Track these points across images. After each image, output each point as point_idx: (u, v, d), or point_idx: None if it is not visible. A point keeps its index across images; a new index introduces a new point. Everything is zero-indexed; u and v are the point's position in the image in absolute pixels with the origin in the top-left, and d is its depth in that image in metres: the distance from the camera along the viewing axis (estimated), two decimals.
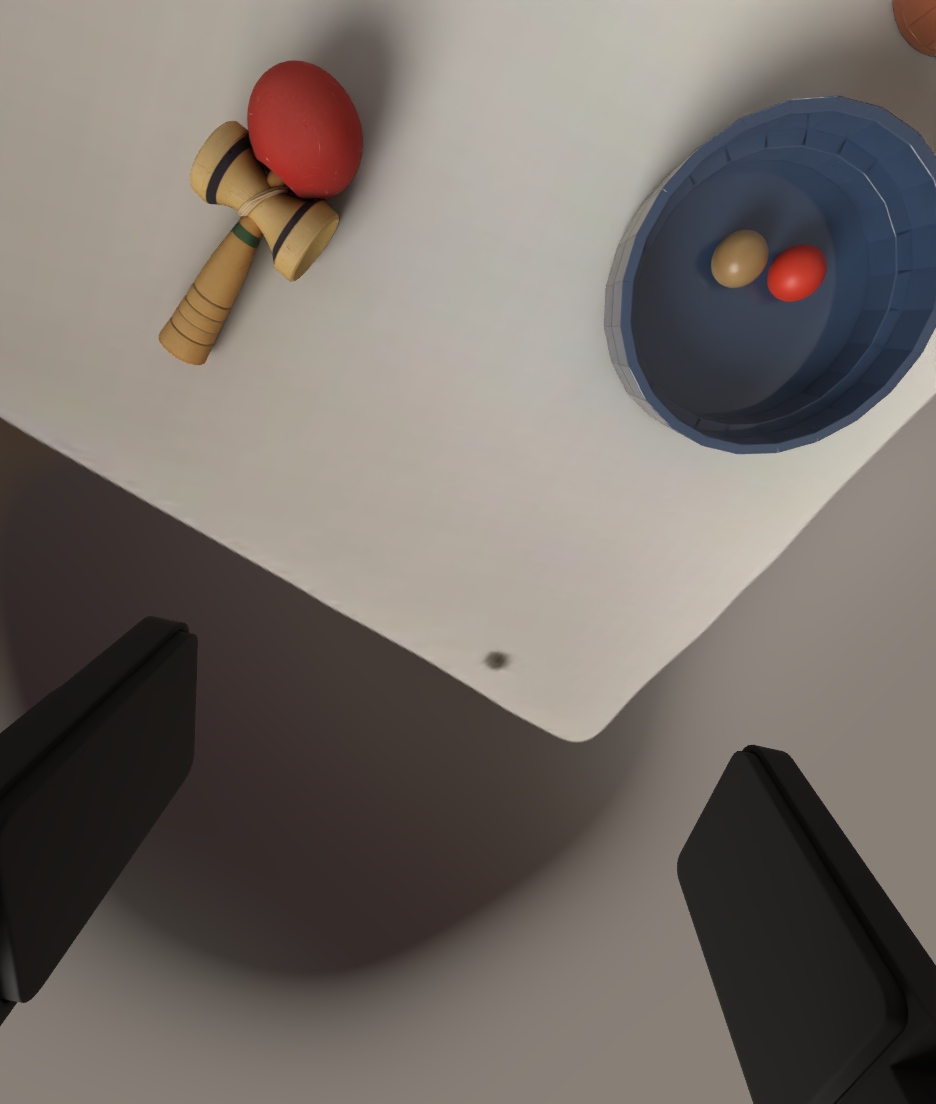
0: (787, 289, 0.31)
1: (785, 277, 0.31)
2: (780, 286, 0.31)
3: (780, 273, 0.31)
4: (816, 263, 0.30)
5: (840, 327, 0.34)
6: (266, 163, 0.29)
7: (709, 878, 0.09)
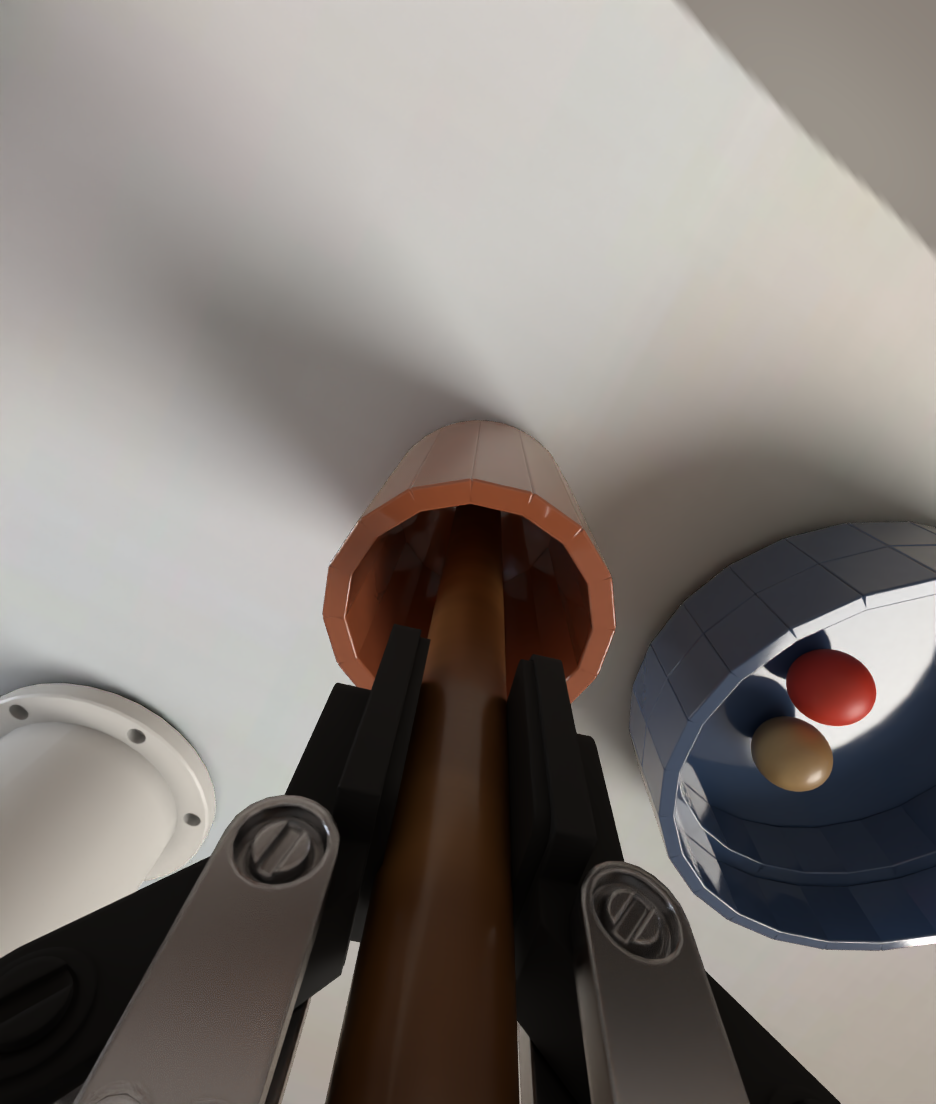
0: None
1: (844, 725, 0.21)
2: None
3: None
4: (842, 702, 0.20)
5: None
6: None
7: None
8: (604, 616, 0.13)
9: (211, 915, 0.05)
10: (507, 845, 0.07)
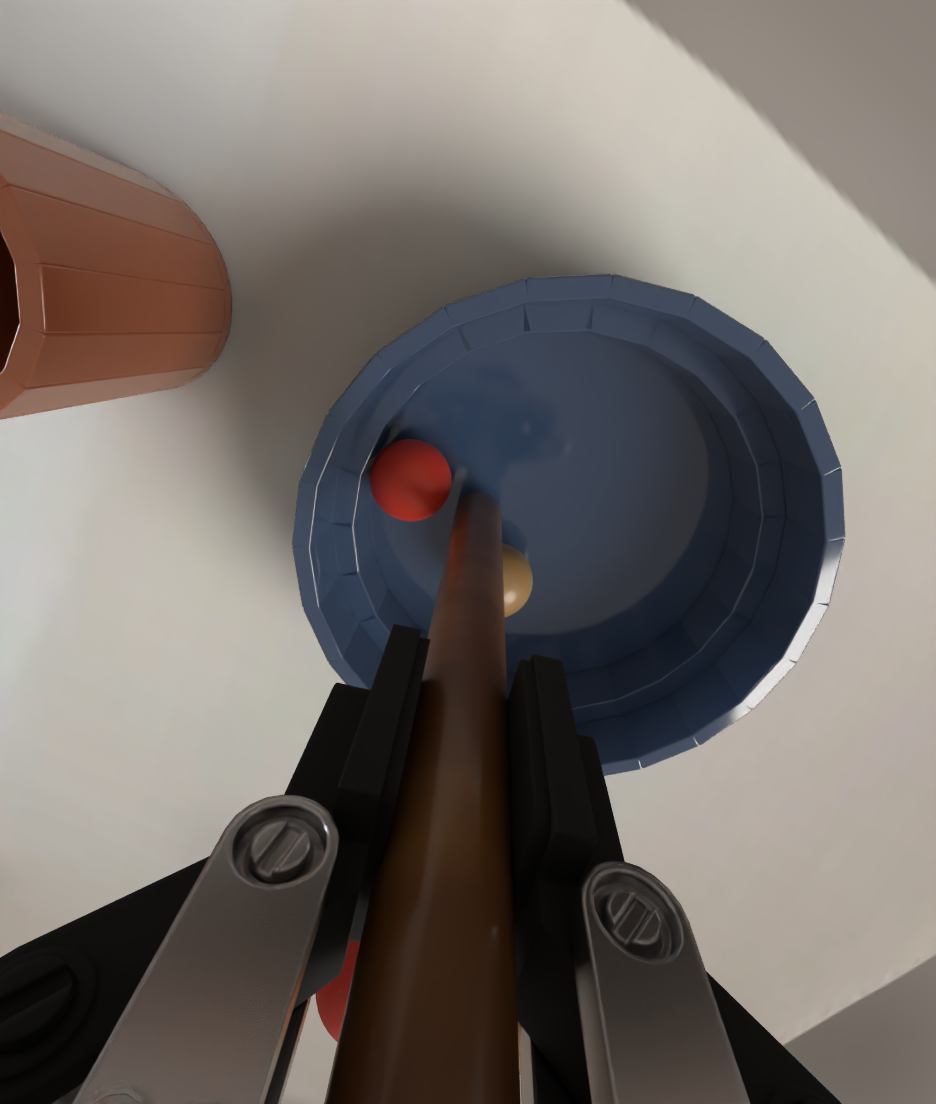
0: None
1: None
2: None
3: None
4: None
5: (601, 362, 0.19)
6: None
7: None
8: (19, 243, 0.11)
9: (210, 915, 0.05)
10: (508, 843, 0.07)
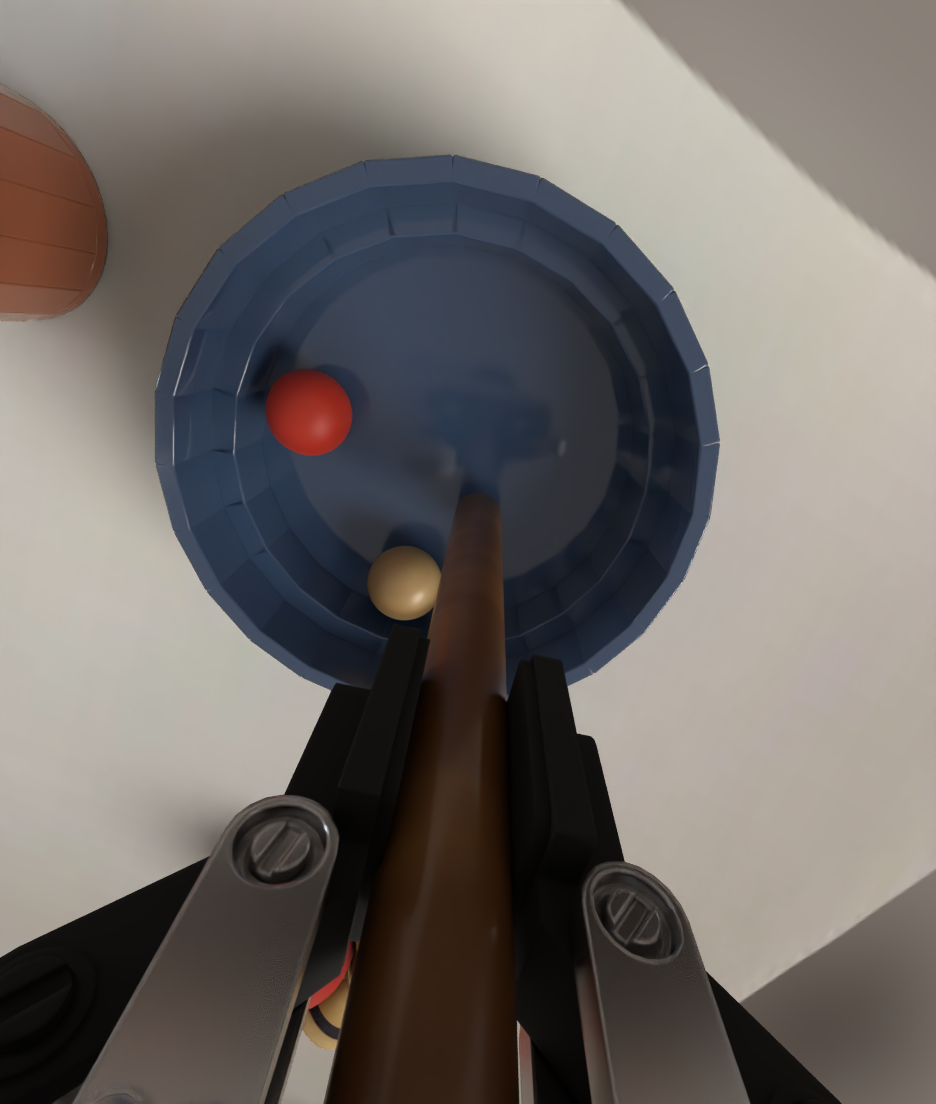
0: None
1: None
2: None
3: None
4: None
5: (486, 279, 0.19)
6: None
7: None
8: None
9: (211, 915, 0.05)
10: (507, 844, 0.07)
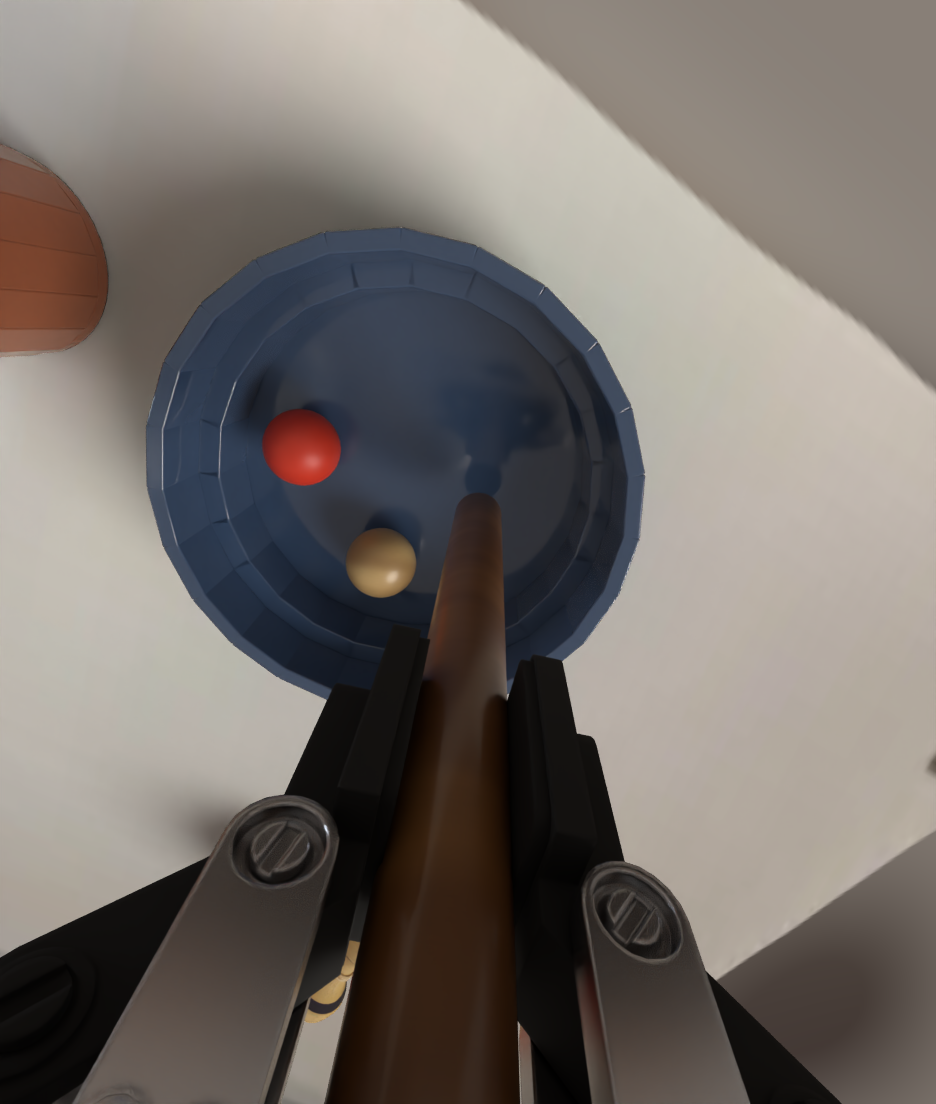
0: None
1: None
2: None
3: None
4: None
5: (447, 321, 0.21)
6: None
7: None
8: None
9: (211, 915, 0.05)
10: (508, 842, 0.07)
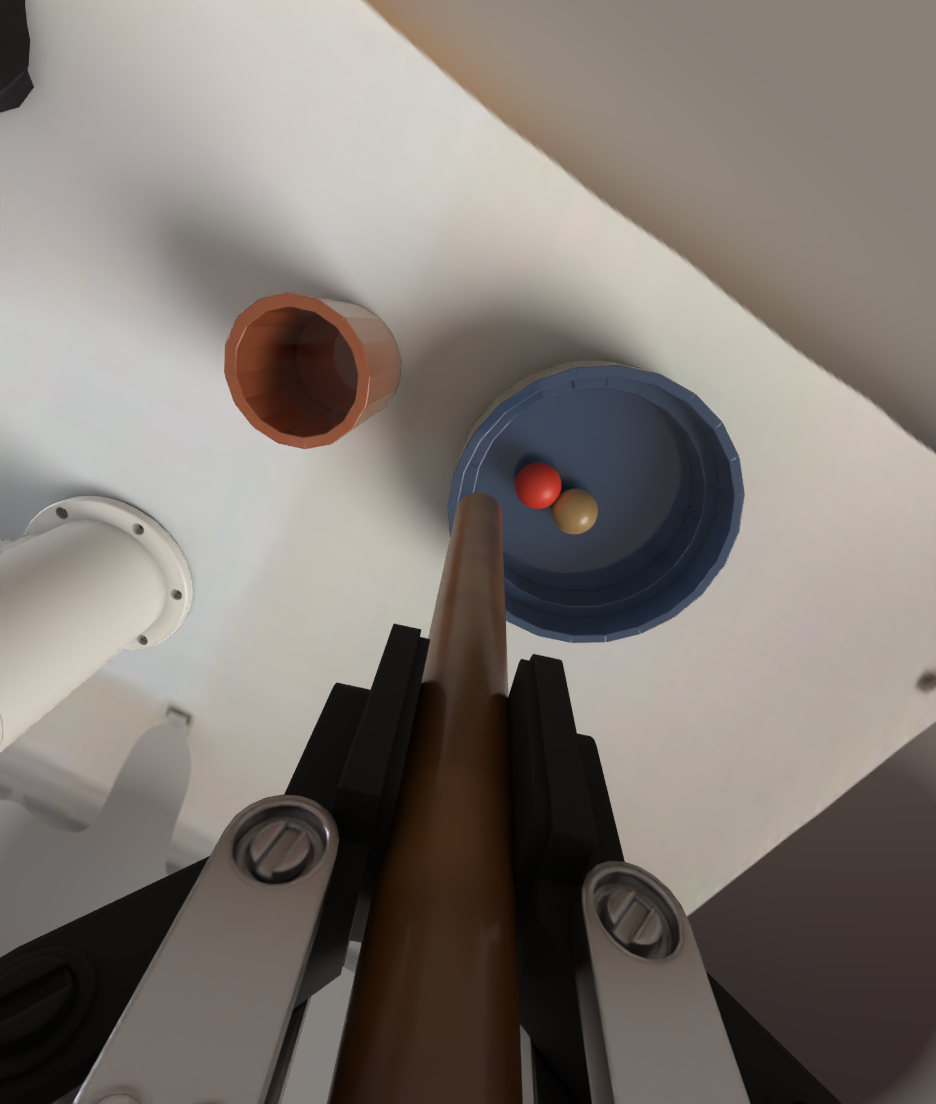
0: (525, 502, 0.35)
1: (518, 498, 0.35)
2: (525, 504, 0.35)
3: None
4: (521, 476, 0.34)
5: (613, 400, 0.34)
6: None
7: None
8: (363, 368, 0.26)
9: (210, 915, 0.05)
10: (510, 844, 0.07)
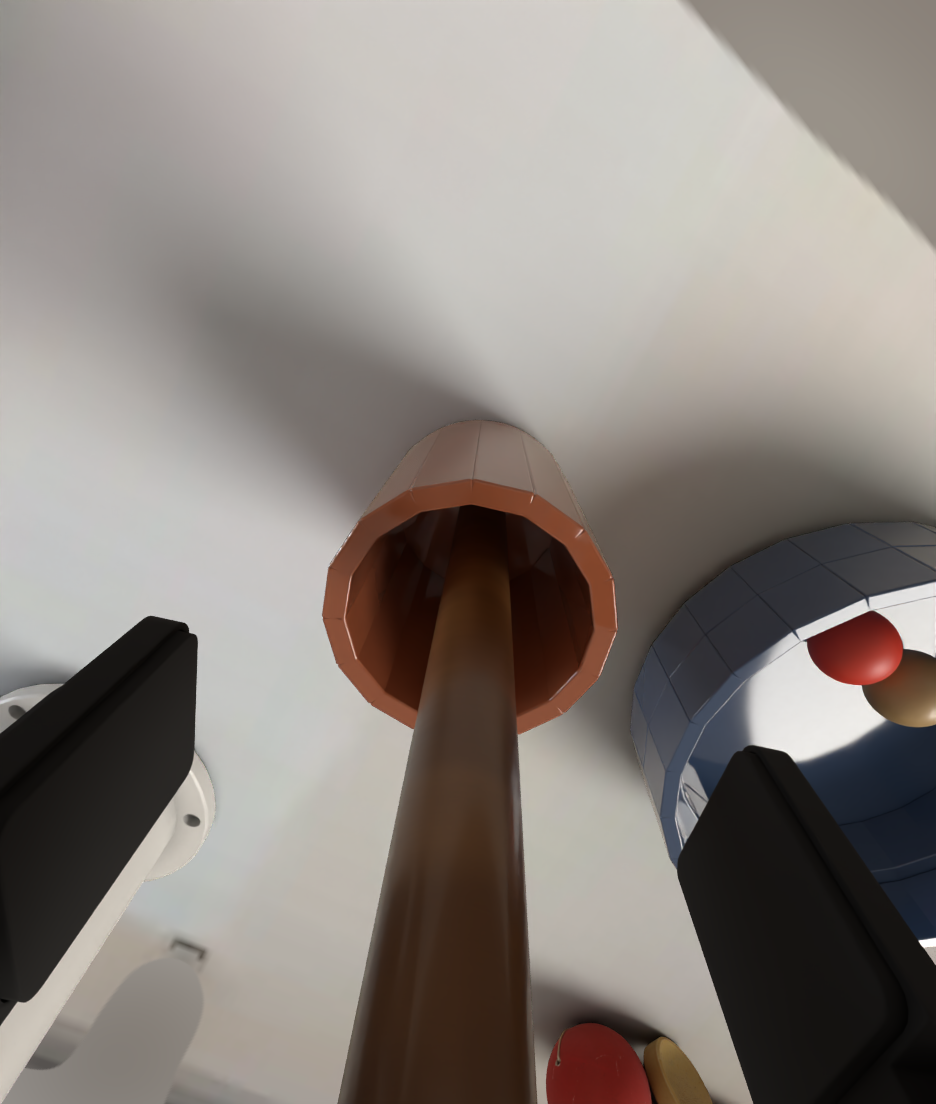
0: (882, 616, 0.20)
1: (877, 622, 0.20)
2: (889, 626, 0.20)
3: (880, 631, 0.19)
4: None
5: None
6: None
7: (709, 878, 0.09)
8: (606, 617, 0.13)
9: None
10: (520, 842, 0.07)
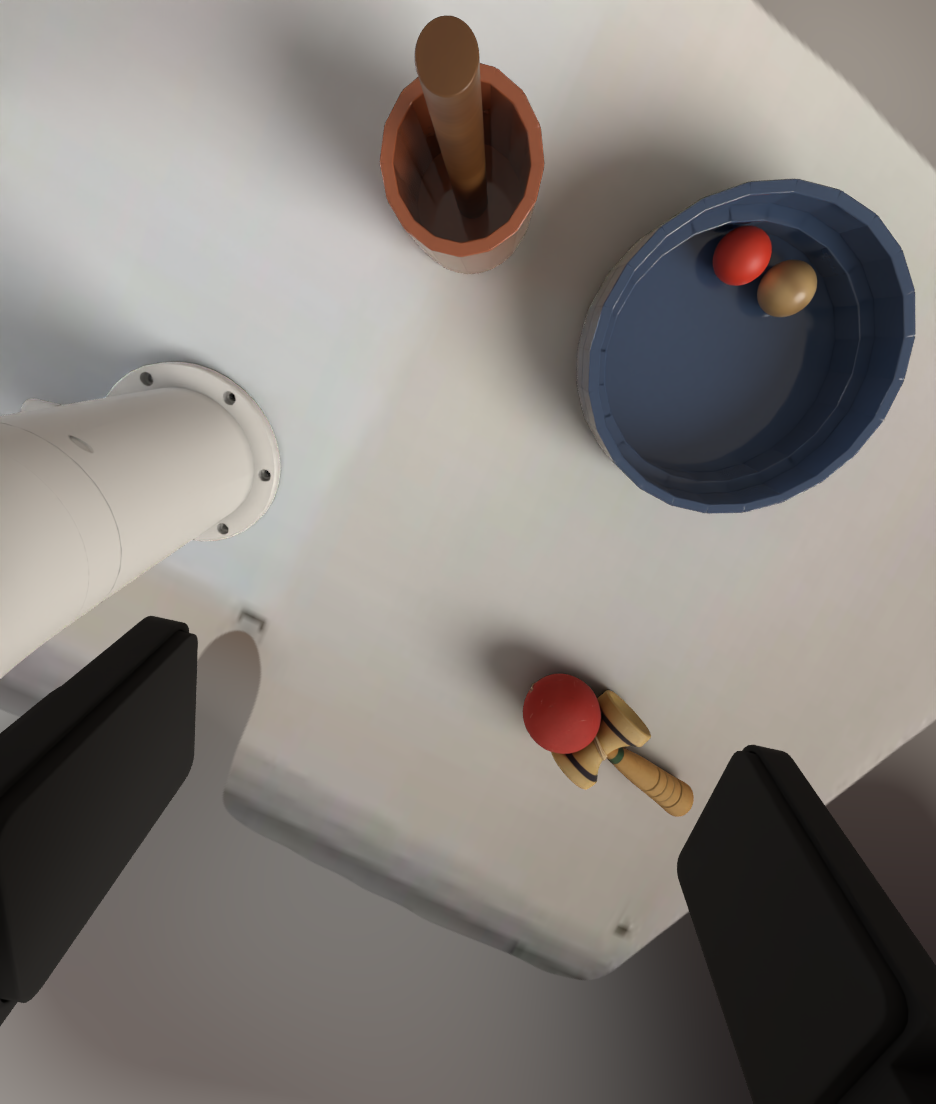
0: None
1: None
2: None
3: None
4: (716, 247, 0.31)
5: None
6: (584, 747, 0.41)
7: (709, 878, 0.09)
8: (537, 154, 0.24)
9: None
10: None
